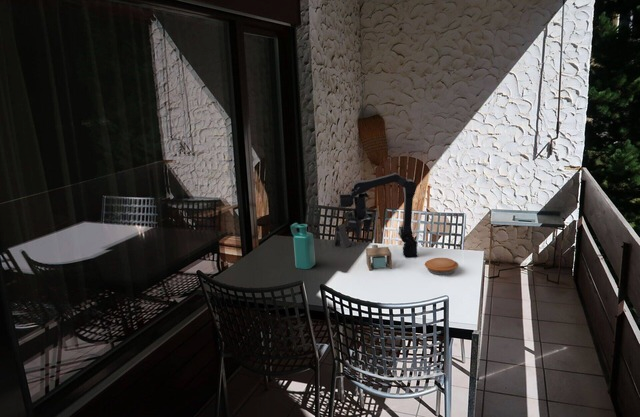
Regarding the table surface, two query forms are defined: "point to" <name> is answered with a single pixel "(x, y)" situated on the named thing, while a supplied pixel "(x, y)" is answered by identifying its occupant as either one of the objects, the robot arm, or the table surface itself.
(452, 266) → the pie
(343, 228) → the phone stand
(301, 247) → the teal bottle
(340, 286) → the table surface
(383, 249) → the walnut shelf
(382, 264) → the tethered block
